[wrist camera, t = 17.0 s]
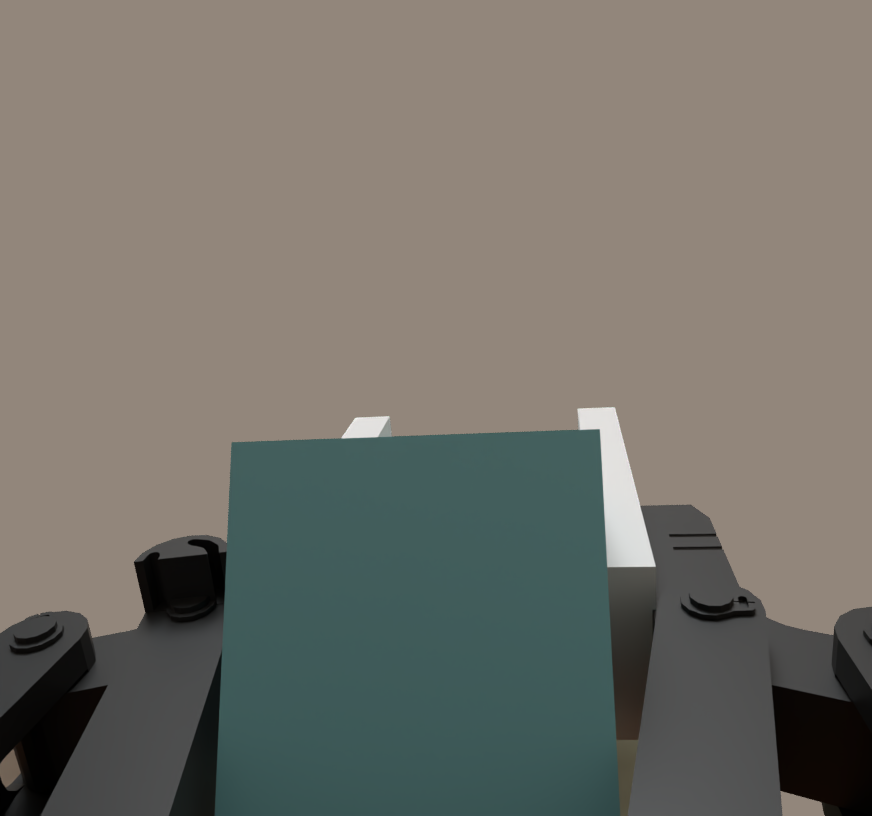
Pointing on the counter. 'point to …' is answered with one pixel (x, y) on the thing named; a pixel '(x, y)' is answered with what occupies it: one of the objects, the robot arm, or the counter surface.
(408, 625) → the beam
